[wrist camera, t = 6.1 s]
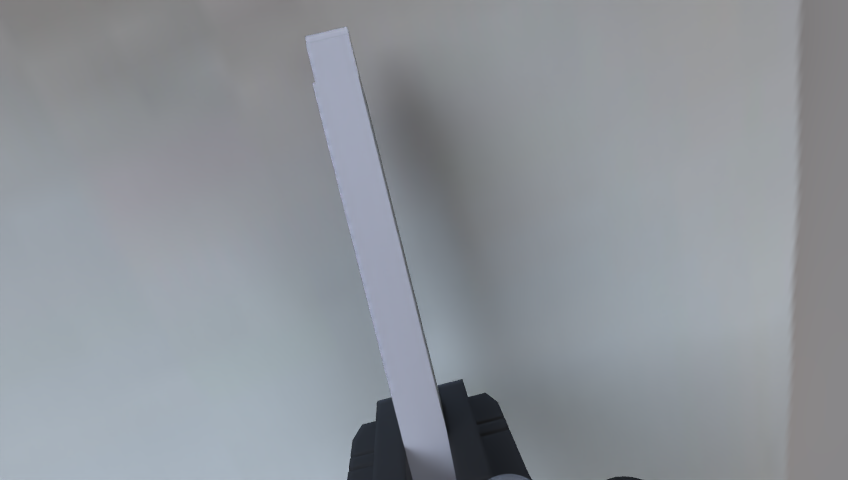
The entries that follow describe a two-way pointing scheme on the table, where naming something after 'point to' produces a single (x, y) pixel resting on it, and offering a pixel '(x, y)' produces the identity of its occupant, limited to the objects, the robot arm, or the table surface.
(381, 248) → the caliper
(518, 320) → the table surface
